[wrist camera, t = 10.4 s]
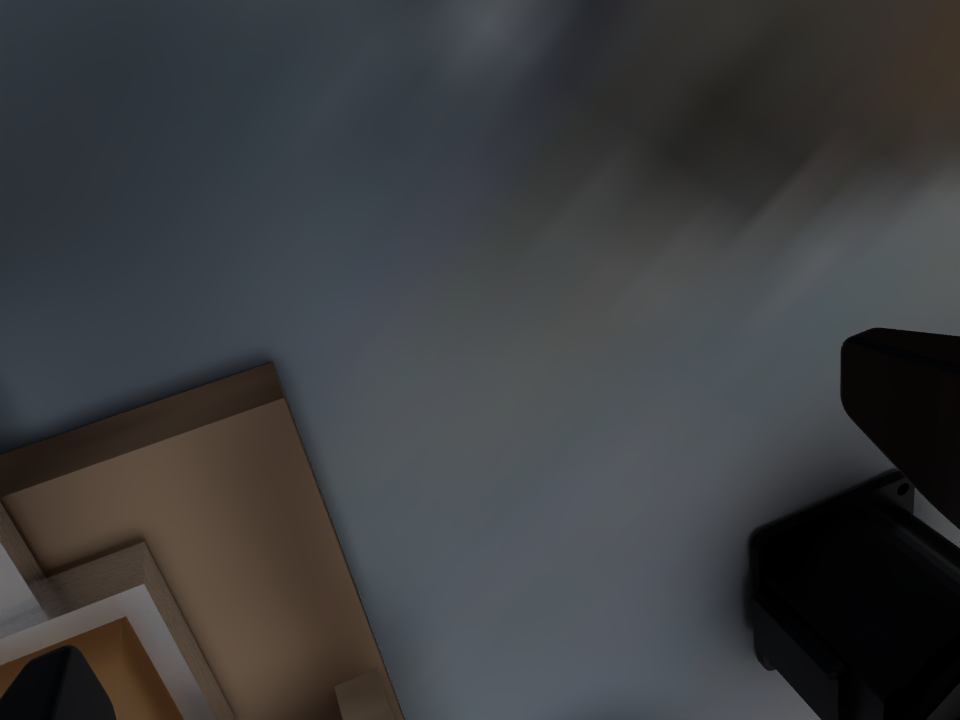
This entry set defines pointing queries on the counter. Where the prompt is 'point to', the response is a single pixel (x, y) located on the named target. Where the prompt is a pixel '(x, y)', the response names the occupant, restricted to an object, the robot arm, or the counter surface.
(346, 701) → the miniature wooden bench
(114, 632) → the block
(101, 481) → the track board
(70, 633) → the slider
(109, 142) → the counter surface
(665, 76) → the counter surface
